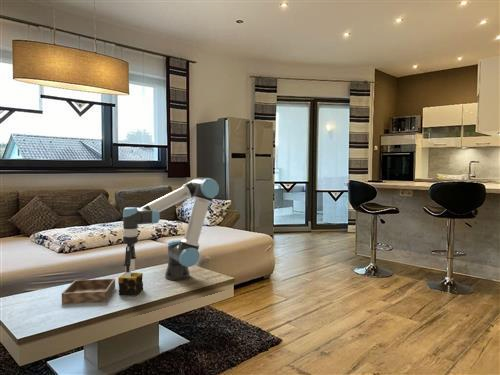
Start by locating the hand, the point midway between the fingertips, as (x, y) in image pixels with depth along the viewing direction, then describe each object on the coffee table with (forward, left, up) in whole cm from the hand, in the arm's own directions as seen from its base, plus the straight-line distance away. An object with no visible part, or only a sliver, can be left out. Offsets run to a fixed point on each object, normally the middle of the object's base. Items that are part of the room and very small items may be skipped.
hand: (130, 274), depth 206 cm
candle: (0, 0, -11) cm, 11 cm away
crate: (+21, +2, -11) cm, 23 cm away
